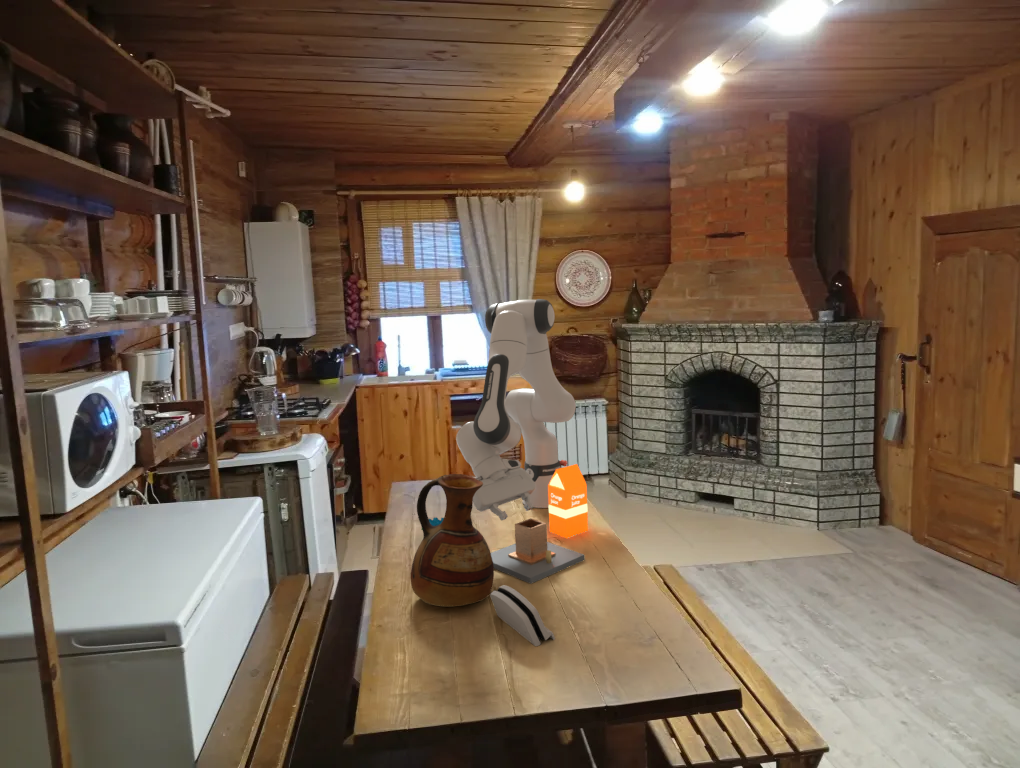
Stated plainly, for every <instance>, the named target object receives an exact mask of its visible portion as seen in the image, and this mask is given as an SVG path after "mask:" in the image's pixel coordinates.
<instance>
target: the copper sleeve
mask: <svg viewBox="0 0 1020 768" xmlns="http://www.w3.org/2000/svg"><path fill="white" fill-rule="evenodd" d="M514 536H515V538H514V539H515V541H514V542H515V543H516V551H515V552H513V553H510V554H508V556H509V557H511V558H514V559H516V560H519V561H522V562H524V563H527V564H529V565H533V564H536V563H538V562H541V561H543V560H545V559H546V551H547V542H548V530H547V522H543V521H541V520H537V519H533V518H528V519H526V520H522V521H519V522H517V523H515V524H514ZM555 555H556V553H554V552H551V557H553V556H555Z"/></svg>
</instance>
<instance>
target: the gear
mask: <svg viewBox="0 0 1020 768" xmlns="http://www.w3.org/2000/svg"><path fill="white" fill-rule="evenodd" d="M428 519H429V522H430V524H431V525H432V526H437V525H439V524H441V523H442V521H443V519H444V517H441V518H440V519H439V518H438V517H437V516H436V517H433V518H432V519H431V518H428ZM421 531H423V530H422V528H421Z"/></svg>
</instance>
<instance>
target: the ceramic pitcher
mask: <svg viewBox="0 0 1020 768" xmlns="http://www.w3.org/2000/svg"><path fill="white" fill-rule="evenodd" d="M434 486H439V487H441V489H442V490H443V491H444V495H445V501H446V504H445V511H444V512H445V513H444V517H443V518H444V519H443V521H442V523H441V524H439V525H437V526H432V525H431V524H430V522H429V519H430V518H429V516H428V513H427V505H426V503H427V498H428V495H429V492H430V491H431V489H432V488H433V487H434ZM482 486H483V482H481V481H479V480H477V479H476V477H474V476H472V475H467V474H462V473H449V474H444V475H441V476H439V477H438V478H435V479H432V480H431V481H429V482H428V483H426V484H425V485H424V486H423V487H422V488H421V490H420V492H419V495H418V497H417V502H416V512H417V519H418V520H419V523H420V526H421V529H422V530H421V531H422V533H423V539H422V541H421V542H420V544H419V545H418V547H417V549H416V551H415V553H414V556H413V559H412V565H411V570H410V585H411V589H412V591H413V593H414V594H415V595H416V597H417V598H419V599H420V600H422V602H424V603H426V604H428V605H430V606H431V605H432V606H438V607H460V606H467V605H470V604H475V603H477V602H480V601H481V602H482V600H485V599H486V598H488V597H490V594H491V593H492V591H493V590H492V589H493V585H494V577H495V572H494V571H495V569H494V567H493V560H492V557H491V553H492V552H491V551H490V547H489V545H488V542H487V541H486V539H485V537H484V536H483V534H482V533H481V532H480V530H478V529H477V528H475V527H474V525H473V520H472V511H473V505H474V503H473V497H474V494H475V493H476V491H477V490H478V489H479V488H481V487H482Z"/></svg>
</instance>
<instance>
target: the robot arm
mask: <svg viewBox="0 0 1020 768" xmlns="http://www.w3.org/2000/svg"><path fill="white" fill-rule="evenodd" d="M484 321H485V326H486V327H485V328H486V329H487V332H488V333H490V338H489V339H490V340H489V351H488V362H487V367H486V372H485V379H484V385H483V390H482V396H481V397H482V399H481V404H480V406H479V408H478V411H477V413H476V415H475V417H474V420H473V421H468V422H466V423H465V424H463V425H462V426H461V427H459V429H458V431H457V432H456V437H455V440H456V444H457V446H458V448H459V451H460V453H461V455H462V457H463V459H464V460H465V461H466V463H467V464H469V465H470V467H471V470H472V472H473V475H474V476H475V478H476V479H477V480H479V481H481V482H483V486H482V487H481V488H479V489H478V490H477V491H476V493H475V494H474V497H473V505H474V507H475V509H476V510H477V511H479V512H484V511H487V510H490V511H491V513H492V514H494V515H496V516H497V517H498V518H499V520H500V521H504V520H507V518H508V517H509V516H508V514H507V512H506V511H505V510H502V509H500V508H499V506H501V505H504V504H505V505H506V504H508V503H511V502H513V501H517V500H519V499H521V501H522V503H523V508H524V510H525V511H526V512H529V511H532V509H533V508H537V509H538V508H539V509H542V508H543V509H546V508H548V509H549V500H548V485H549V483H550V481H551V479H552V477H553V475H554V473H555V471H556V469H559V468H563V467H567V466H568V461H567V460H564V459H561V460H559V453H558V451H559V450H558V449H559V447H558V440H557V436H555V434H553V432H551V431H550V430H549V429H548V428H547V427H546V424H545V423H551V424H558V423H565V422H569V421H570V420H571V419H572V418H573V417H574V415H575V413H576V408H577V407H576V406H577V405H576V401H575V398H574V396H573V394H572V393H570V392H569V391H567V389H565V388H564V387H563V386H562V385H561V383H560V381H559V380H558V379H557V376H556V375H555V372H554V369H553V366H552V360H551V353H550V346H549V345H550V344H549V340H548V335H547V332H549V331H551V329H552V328H553V327H554V324H555V310H554V307H553V305H552V303H551V302H550V301H549V300H547V299H544V298H537V299H517V300H512V301H507V302H502V303H500V302H497V303H493V304H491V305H489V306H488V308H487V309H486V311H485V315H484ZM516 375H519V376H520V377H521V379H524V380H525V381H526V382H527V383H528V384H529V385H530V386H531V388H528V387H527V388H526V387H523V388H517V389H516V388H515V389H511V390H510V391H509V392H508V393H507V390H508V383H509V382H508V381H509V379H510V377H512V376H516ZM521 439H523V444H524V456H525V461H524V465H523V466H524V468H522V463H521V461H519V460H518V459H506V458H502V457H501V456H500V455H502V454H505V453H507V452H508V451H510V450H512V449H514V448H516V446H517V445H519V443H520V441H521Z"/></svg>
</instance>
